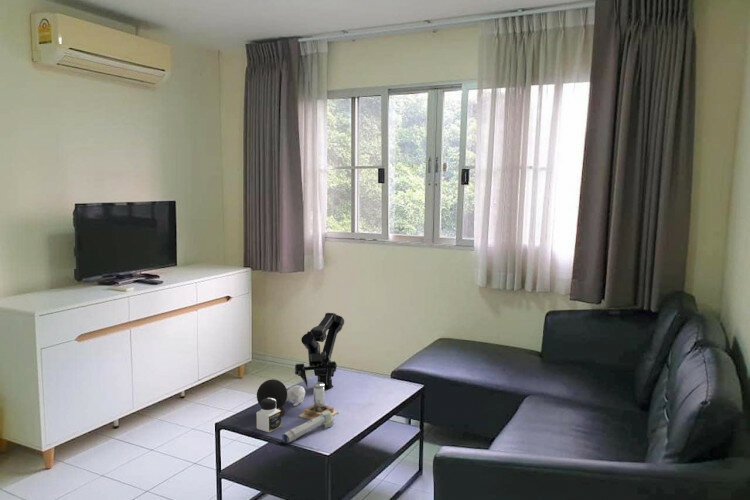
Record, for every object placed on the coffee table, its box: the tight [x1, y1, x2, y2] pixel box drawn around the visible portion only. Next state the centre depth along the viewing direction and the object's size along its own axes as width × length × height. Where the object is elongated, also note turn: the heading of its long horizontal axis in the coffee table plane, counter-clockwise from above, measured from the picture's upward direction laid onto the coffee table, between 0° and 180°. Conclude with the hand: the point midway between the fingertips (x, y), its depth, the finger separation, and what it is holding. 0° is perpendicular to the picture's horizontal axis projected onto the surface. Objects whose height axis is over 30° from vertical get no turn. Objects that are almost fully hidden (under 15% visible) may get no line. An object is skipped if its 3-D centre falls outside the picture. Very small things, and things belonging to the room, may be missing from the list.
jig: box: [299, 404, 339, 421], centre depth 235 cm, size 12×12×3 cm
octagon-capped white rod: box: [281, 410, 335, 445], centre depth 217 cm, size 5×7×25 cm
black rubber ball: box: [256, 379, 288, 418], centre depth 236 cm, size 13×13×15 cm
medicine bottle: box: [256, 398, 282, 433], centre depth 221 cm, size 7×7×12 cm
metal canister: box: [313, 381, 325, 412], centre depth 234 cm, size 5×5×13 cm
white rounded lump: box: [286, 385, 306, 407], centre depth 248 cm, size 6×8×12 cm
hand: (317, 385), depth 242 cm, fingers open, 9 cm apart
